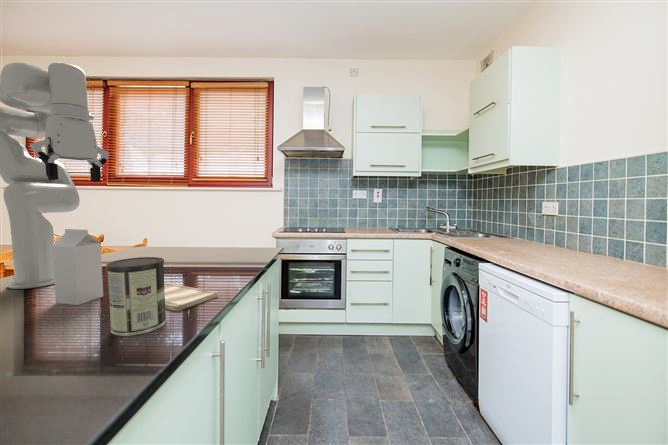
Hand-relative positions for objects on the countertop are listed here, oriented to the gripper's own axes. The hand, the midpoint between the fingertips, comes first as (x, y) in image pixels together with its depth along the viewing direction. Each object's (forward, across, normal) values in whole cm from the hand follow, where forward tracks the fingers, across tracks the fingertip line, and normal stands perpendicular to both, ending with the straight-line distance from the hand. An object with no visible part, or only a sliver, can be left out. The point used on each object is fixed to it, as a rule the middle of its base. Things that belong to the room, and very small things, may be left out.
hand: (75, 180), depth 83 cm
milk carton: (+32, +1, 0) cm, 32 cm away
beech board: (+32, -10, +19) cm, 39 cm away
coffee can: (+33, +6, +30) cm, 45 cm away
